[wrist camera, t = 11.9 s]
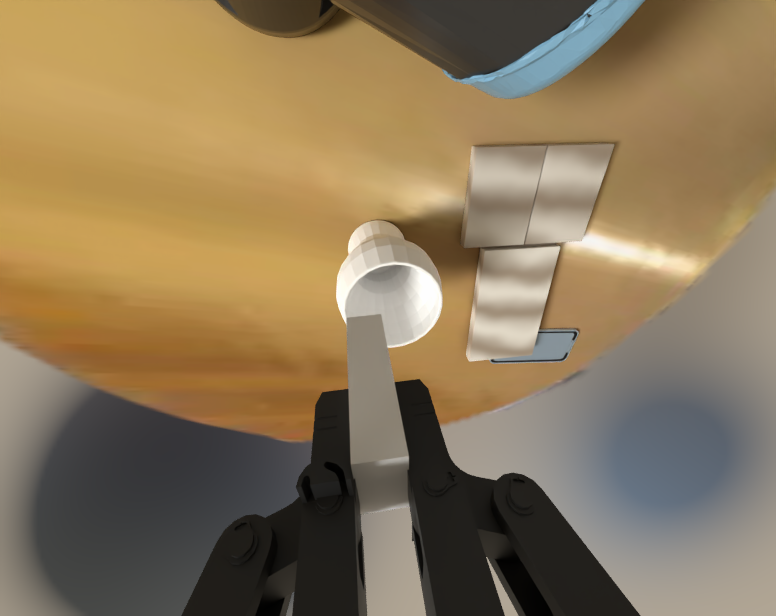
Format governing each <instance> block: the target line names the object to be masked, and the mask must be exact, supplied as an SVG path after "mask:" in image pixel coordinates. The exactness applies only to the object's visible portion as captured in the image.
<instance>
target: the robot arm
mask: <svg viewBox="0 0 776 616" xmlns="http://www.w3.org/2000/svg"><path fill="white" fill-rule="evenodd" d="M215 1H216V2H217V3H218V4H219V5H220V6H221V7H222V8H223V9H224V10H226V11H227V12H228V13H229V14H230V15H232V16H233V17H234V18H235V19H237V20H238V21H240V22H241V23H243V24H244V25H246V26H248V27H250V28H251V29H253V30H256V31H258V32H260V33H263V34H266V35H270V36H275V37H284V38H289V37H298V36H303V35H306V34H309V33H311V32H313V31H315V30H317V29H319V28H320V27H322V26H323V25H325V24H326V23H327V22H328V21H329V20H330V19H331V18H332V17H333V16H334V15H335V14H336V13H337V12H338V10H339V9H340V8H341V9H343V10H345V11H346V12H348V13H350V14H351V15H353V16H355V17H356V18H358V19H360V20H361V21H363V22H365V23H366V24H368V25H370V26H371V27H373V28H375V29H376V30H378V31H380V32H381V33H383V34H385V35H386V36H388V37H390V38H391V39H393V40H395V41H396V42H398V43H400V44H401V45H403V46H405V47H406V48H408V49H410V50H411V51H413V52H415V53H416V54H418V55H420V56H421V57H423V58H425V59H426V60H428V61H430V62H431V63H433V64H435V65H436V66H438V67H440V68H441V69H442V70H443V72H444V73H445V74H446V75H447V77H449V78H450V79H452V80H453V81H455V82H460V83H462V84H470V85H471V86H473V87H475V88H477V89H479V90H481V91H483V92H485V93H487V94H489V95H491V96H493V97H496V98H504V99H515V98H520V97H524V96H527V95H530V94H533V93H535V92H538V91H540V90H542V89H544V88H546V87H548V86H550V85H551V84H553V83H555V82H556V81H558V80H559V79H561V78H562V77H564V76H565V75H567V74H568V73H570V72H571V71H572V70H574V69H575V68H576V67H578V66H579V65H580V64H582V63H583V62H584V61H585V60H587V59H588V58H589V57H590V56H591V55H593V54H594V53H595V52H596V51H597V50H598V49H599V48H600V47H601V46H603V45H604V44H605V43H606V42H607V41H608V40H609V39H610V38H611V37H612V36H613V35H614V34H615V33H616V32H617V31H618V30H619V29H620V28H621V27H622V26H623V25H624V24H625V23H626V22H627V20H628V19H629V18H630V17H631V16H632V15H633V14H634V13H635V11H636V10H637V9H638V8H639V7H640V6H641V4H642V3H643V2H644V1H645V0H215ZM346 321H347V355H348V389H345V390H337V391H329V392H322V394H321V396H320V398H319V400H318V401H317V403H316V406H315V421H314V432H313V443H312V456H311V464H309V465H308V466H307V467H306V468H305V469H304V470H303V472H302V473H301V475H300V476H299V479H298V482H297V485H296V488H297V491H298V493H299V496H300V497H299V498H297V499H296V500H295V501H294V502H293V503H292V504H290V505H289V506H287V507H285V508H283V509H281V510H280V511H278V512H276V513H274V514H272V515H270V516H268V517H266V518H264V517H262V516H259V515H256V514H255V515H246V516H244V517H241V518H240V519H238V520H236V521H234V522H233V523H232V524H231V525H230V526H229V527H227V529H225V531H224V532H223V533H222V535H221V537H220V538H219V540H218V541H217V543H216V545H215V547H214V549H213V551H212V553H211V555H210V557H209V560H208V561H207V564H206V566H205V568H204V570H203V572H202V574H201V576H200V578H199V580H198V583H197V584H196V586H195V589H194V591H193V593H192V595H191V597H190V599H189V601H188V603H187V605H186V607H185V609H184V612H183V614H182V616H286V613H287V609H288V606H289V602H290V598H291V595H292V593H293V592H294V591H295V593H294V603H293V614H292V616H367V604H366V586H365V569H364V550H363V536H362V532H361V515H362V514H368V513H375V512H381V511H386V510H393V509H398V508H405V507H409V506H410V512H411V517H412V541H414V544H415V549H416V556H417V562H418V568H419V574H420V579H421V586H422V591H423V598H424V604H425V609H426V616H505V615H504V612H503V609H502V606H501V603H500V599H499V596H498V593H497V590H496V587H495V584H494V581H493V578H492V574H491V571H490V568H489V565H488V562H487V559H486V557H488V559H489V561H490V563H491V565H492V567H493V568H494V570H495V572H496V574H497V576H498V578H499V580H500V581H501V584H502V585H503V587H504V589H505V591H506V593H507V594H508V596H509V598H510V600H511V602H512V604H513V606H514V608H515V610H516V611H517V613H518V615H519V616H640V615H639V613H638V612H637V611H636V609H635V608H634V607H633V606H632V604H631V603H630V602H629V600H628V599H627V598H626V597H625V595H624V594H623V593H622V592H621V590H620V589H619V588H618V586H617V585H616V584H615V582H614V581H613V580H612V579H611V577H610V576H609V575H608V573H607V572H606V571H605V570H604V568H603V567H602V566H601V564H600V563H599V562H598V561H597V559H596V558H595V557H594V555H593V554H592V553H591V552H590V550H589V549H588V548H587V546H586V545H585V544H584V543H583V541H582V540H581V539H580V538H579V536H578V535H577V534H576V532H575V531H574V530H573V529H572V527H571V526H570V525H569V523H568V522H567V521H566V519H565V518H564V517H563V516H562V514H561V513H560V512H559V511H558V509H557V508H556V507H555V505H554V504H553V503H552V502H551V500H550V499H549V497H548V496H547V495H546V494H545V492H544V491H543V490H542V489H541V488H540V487H539V486H538V485H537V484H536V483H535V482H534V481H533V480H532V479H530V478H528V477H526V476H524V475H522V474H516V473H509V474H504V475H503V476H501V477H500V478H499V479H498V480H497V481H496V480H491V479H485V478H480V477H476V476H472V475H469V474H467V473H465V472H463V471H462V470H460V469H459V468H458V467H457V466H456V465H455V464H454V463H453V461H452V460H451V458H450V456H449V454H448V451H447V448H446V445H445V442H444V438H443V435H442V432H441V429H440V425H439V422H438V419H437V416H436V414H435V409H434V406H433V404H432V400H431V396H430V393H429V390H428V388H427V387H426V386H425V385H424V384H423V383H422V382H421V380H420V379H417V380H409V381H401V382H394V378H393V373H392V368H391V362H390V357H389V352H388V347H387V342H386V337H385V332H384V327H383V322H382V316H381V314H376V315H367V316H357V317H348V318H346Z"/></svg>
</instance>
